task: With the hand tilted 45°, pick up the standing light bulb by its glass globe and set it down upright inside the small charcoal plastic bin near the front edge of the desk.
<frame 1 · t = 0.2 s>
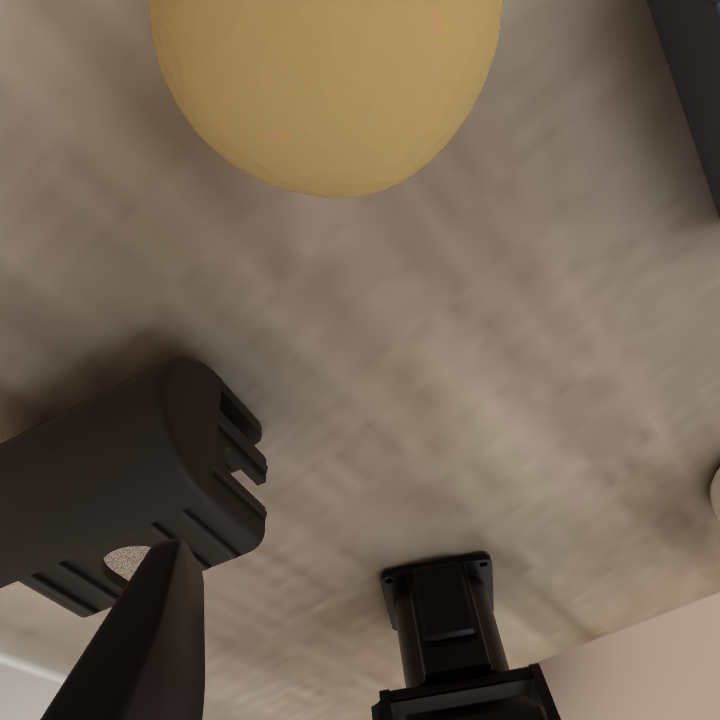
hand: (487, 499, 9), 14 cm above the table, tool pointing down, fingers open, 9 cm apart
end cap: (134, 416, 27), on the table
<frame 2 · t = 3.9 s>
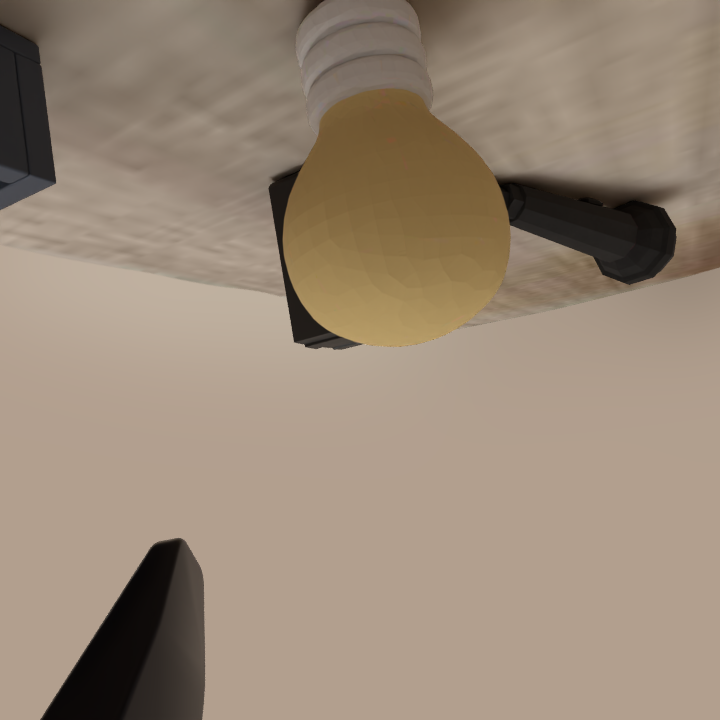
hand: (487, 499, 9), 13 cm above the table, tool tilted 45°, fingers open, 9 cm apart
light bulb: (352, 11, 19), on the table
microphone: (577, 188, 39), on the table
ink cartridge: (315, 181, 31), on the table
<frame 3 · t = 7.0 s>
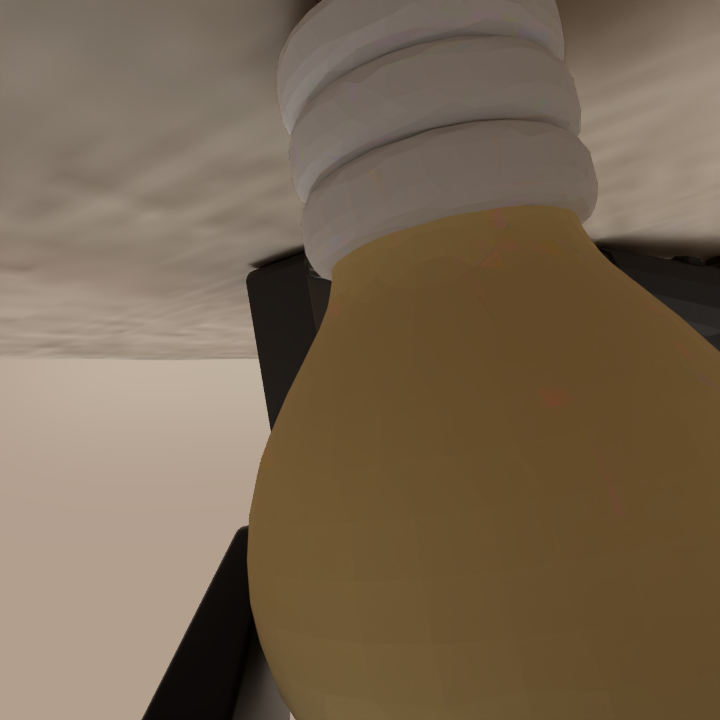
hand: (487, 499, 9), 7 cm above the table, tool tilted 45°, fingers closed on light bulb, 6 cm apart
light bulb: (402, 7, 8), on the table, touching gripper
microphone: (674, 244, 28), on the table
ink cartridge: (318, 261, 20), on the table
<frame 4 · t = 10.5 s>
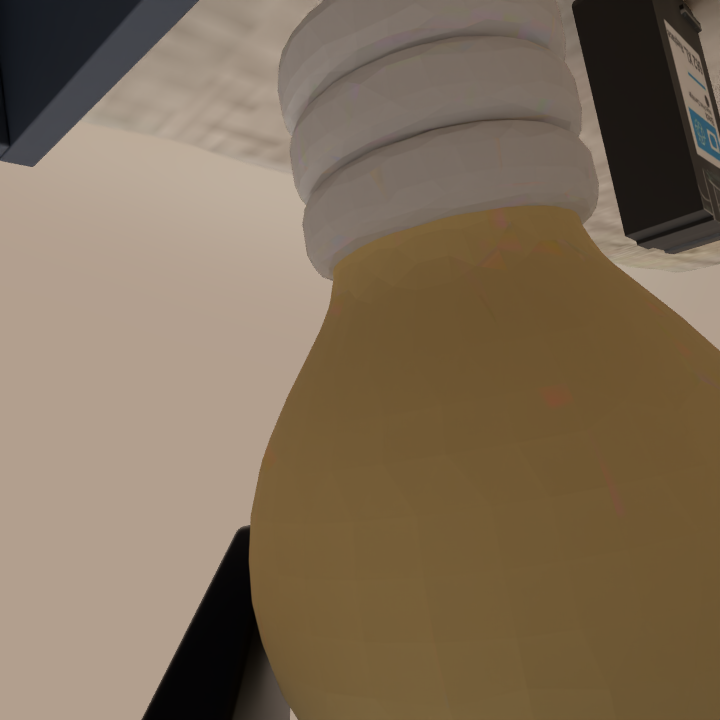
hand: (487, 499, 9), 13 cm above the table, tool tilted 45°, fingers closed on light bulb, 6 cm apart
light bulb: (403, 8, 8), point 6 cm above the table, touching gripper
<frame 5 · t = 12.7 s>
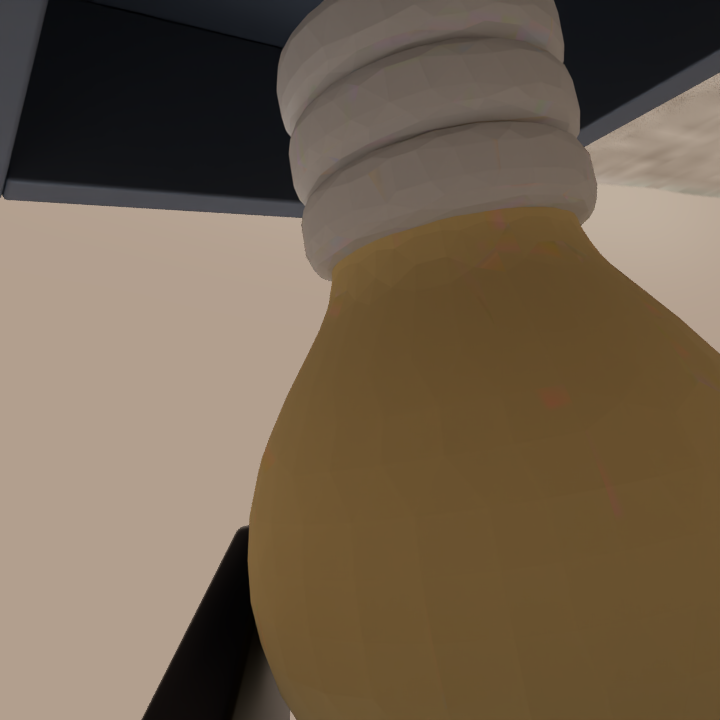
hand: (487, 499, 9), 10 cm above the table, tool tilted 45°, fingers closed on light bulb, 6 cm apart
light bulb: (402, 9, 8), point 3 cm above the table, touching gripper
when the fingers open (7 cm above the table, at t = 14.2 s): light bulb stays where it is, resting on bin.
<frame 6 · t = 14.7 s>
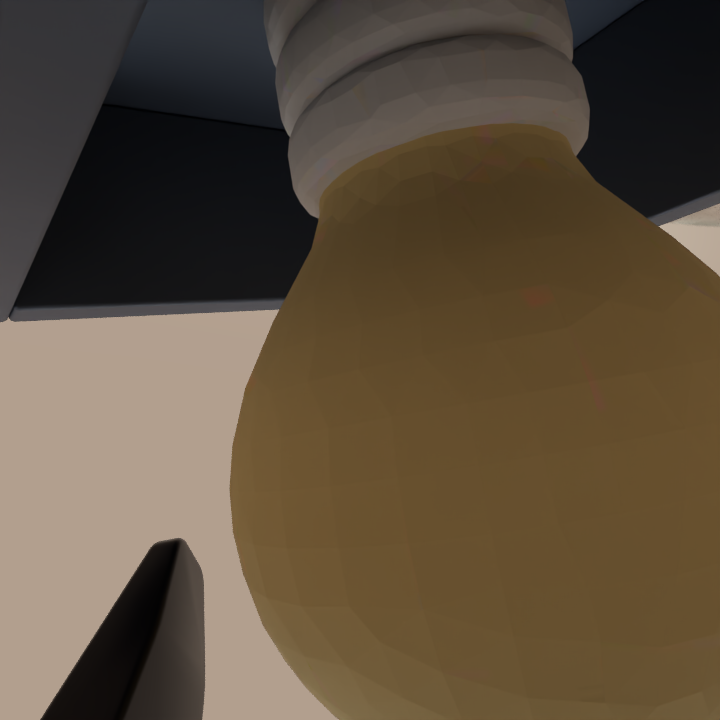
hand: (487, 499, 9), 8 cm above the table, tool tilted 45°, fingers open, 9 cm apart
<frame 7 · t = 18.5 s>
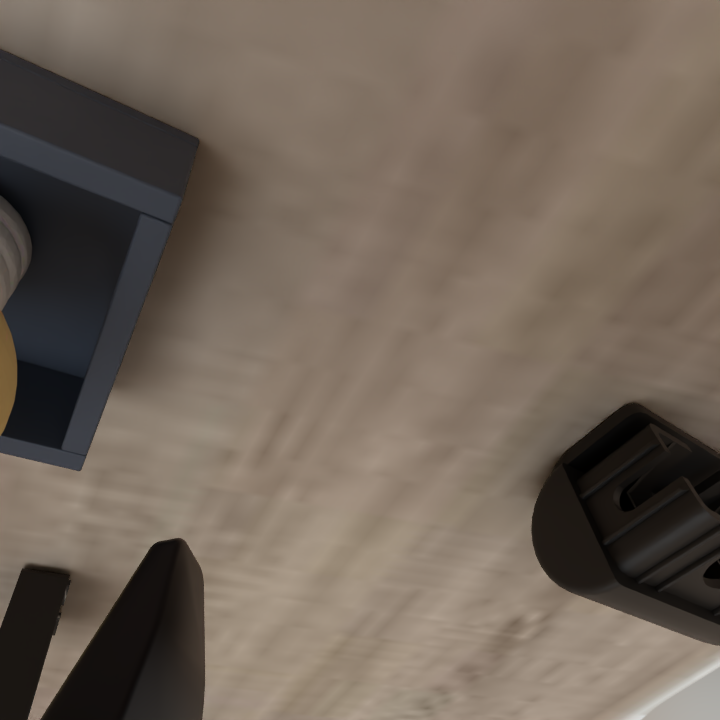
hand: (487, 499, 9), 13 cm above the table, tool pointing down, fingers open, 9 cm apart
ink cartridge: (43, 590, 32), on the table
end cap: (628, 476, 31), on the table
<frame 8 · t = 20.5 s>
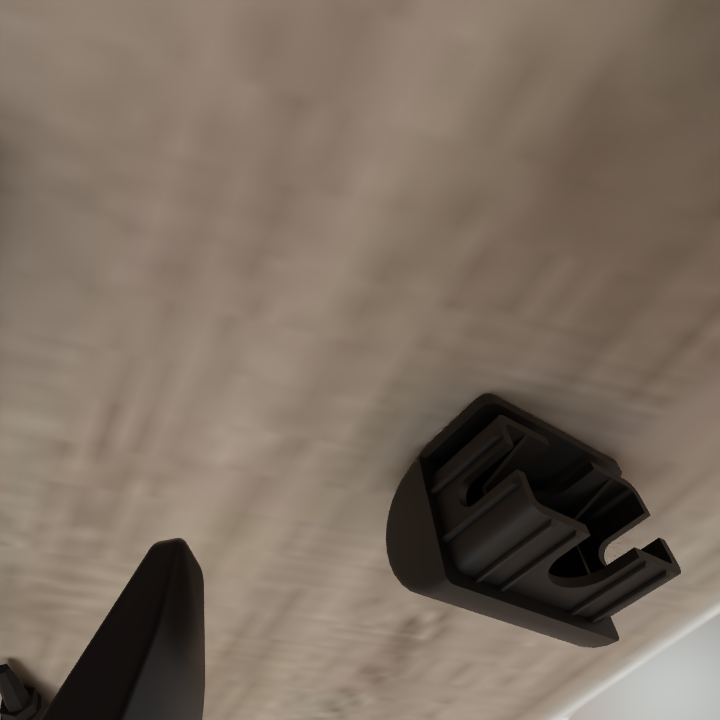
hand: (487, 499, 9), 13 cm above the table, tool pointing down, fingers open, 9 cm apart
end cap: (501, 471, 29), on the table
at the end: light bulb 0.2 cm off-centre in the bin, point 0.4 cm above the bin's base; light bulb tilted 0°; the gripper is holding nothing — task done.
